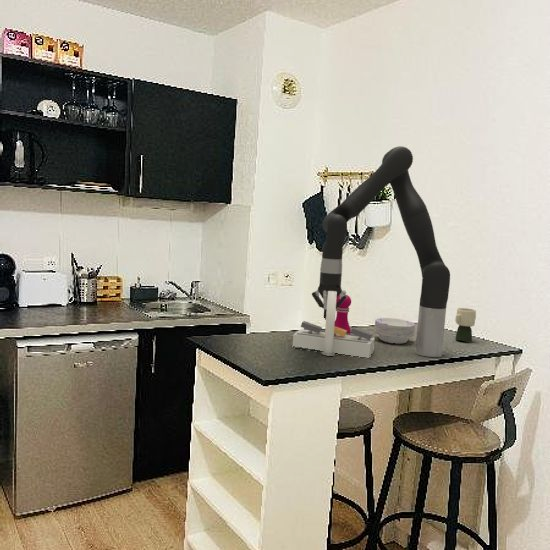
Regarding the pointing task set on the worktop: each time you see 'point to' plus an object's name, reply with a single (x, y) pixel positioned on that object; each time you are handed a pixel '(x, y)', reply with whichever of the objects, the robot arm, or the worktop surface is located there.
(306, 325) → the paddle
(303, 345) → the breaker panel
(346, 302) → the pepper mill
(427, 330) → the robot arm
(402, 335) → the paper bowls
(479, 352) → the worktop surface
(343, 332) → the block
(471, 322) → the character mug
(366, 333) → the paddle
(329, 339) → the post
